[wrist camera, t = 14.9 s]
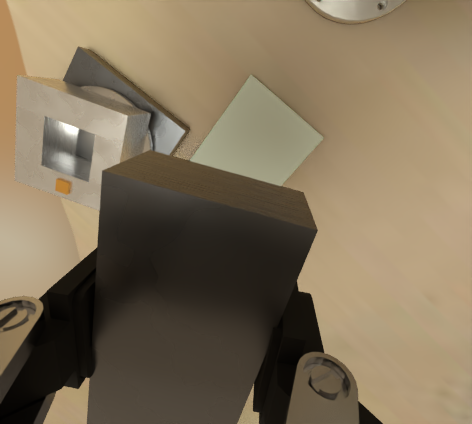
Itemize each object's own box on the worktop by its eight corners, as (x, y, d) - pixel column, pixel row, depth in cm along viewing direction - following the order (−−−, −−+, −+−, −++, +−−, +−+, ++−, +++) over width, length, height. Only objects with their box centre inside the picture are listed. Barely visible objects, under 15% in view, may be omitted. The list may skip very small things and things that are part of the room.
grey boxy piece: (59, 70, 28) (5, 62, 22) (162, 108, 28) (135, 110, 23) (52, 170, 32) (4, 185, 27) (141, 202, 33) (114, 224, 27)
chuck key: (203, 126, 14) (102, 170, 5) (287, 149, 14) (317, 230, 5) (175, 269, 18) (86, 433, 9) (242, 287, 18) (217, 470, 9)
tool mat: (251, 74, 29) (251, 74, 28) (323, 137, 30) (324, 137, 30) (187, 164, 33) (186, 165, 32) (253, 215, 34) (252, 217, 34)
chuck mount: (90, 49, 29) (78, 46, 27) (190, 129, 31) (185, 131, 29) (44, 147, 34) (32, 150, 32) (134, 211, 36) (127, 217, 34)
